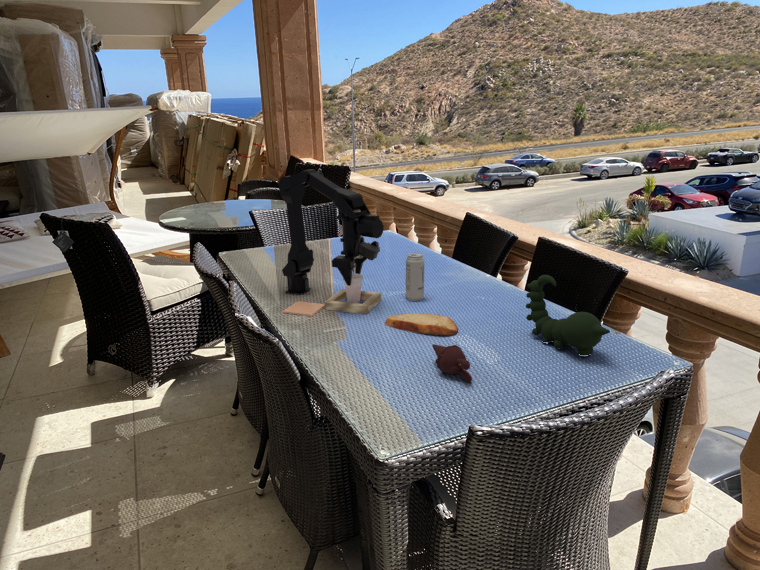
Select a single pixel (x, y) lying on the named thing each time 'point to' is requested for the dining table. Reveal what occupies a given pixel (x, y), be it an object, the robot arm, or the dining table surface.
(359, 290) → the smoothie
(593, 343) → the toy figurine
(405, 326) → the slice of bread
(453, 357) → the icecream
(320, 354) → the dining table surface
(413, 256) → the energy drink can
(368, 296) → the holder
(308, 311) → the coaster
